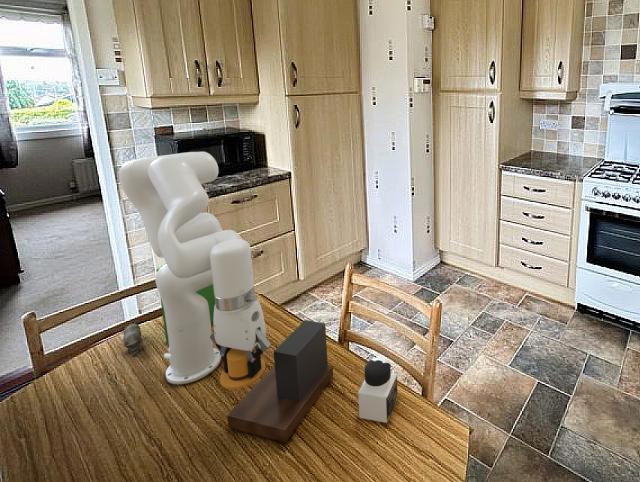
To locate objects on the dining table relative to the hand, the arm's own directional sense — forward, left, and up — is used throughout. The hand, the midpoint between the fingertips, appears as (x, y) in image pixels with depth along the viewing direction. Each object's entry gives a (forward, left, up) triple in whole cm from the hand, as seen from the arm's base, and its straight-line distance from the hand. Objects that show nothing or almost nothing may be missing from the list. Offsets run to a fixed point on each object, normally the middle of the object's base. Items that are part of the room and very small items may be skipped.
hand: (243, 370), depth 84 cm
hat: (0, 0, -1) cm, 1 cm away
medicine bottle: (+28, +11, -14) cm, 33 cm away
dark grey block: (+8, +10, -10) cm, 16 cm away
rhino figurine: (-50, +12, -14) cm, 53 cm away
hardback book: (-42, +26, -14) cm, 51 cm away
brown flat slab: (+5, +7, -13) cm, 16 cm away
